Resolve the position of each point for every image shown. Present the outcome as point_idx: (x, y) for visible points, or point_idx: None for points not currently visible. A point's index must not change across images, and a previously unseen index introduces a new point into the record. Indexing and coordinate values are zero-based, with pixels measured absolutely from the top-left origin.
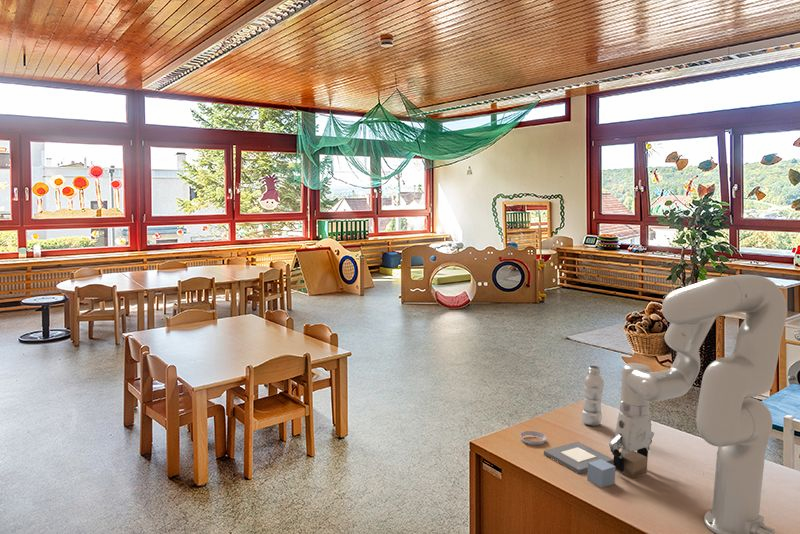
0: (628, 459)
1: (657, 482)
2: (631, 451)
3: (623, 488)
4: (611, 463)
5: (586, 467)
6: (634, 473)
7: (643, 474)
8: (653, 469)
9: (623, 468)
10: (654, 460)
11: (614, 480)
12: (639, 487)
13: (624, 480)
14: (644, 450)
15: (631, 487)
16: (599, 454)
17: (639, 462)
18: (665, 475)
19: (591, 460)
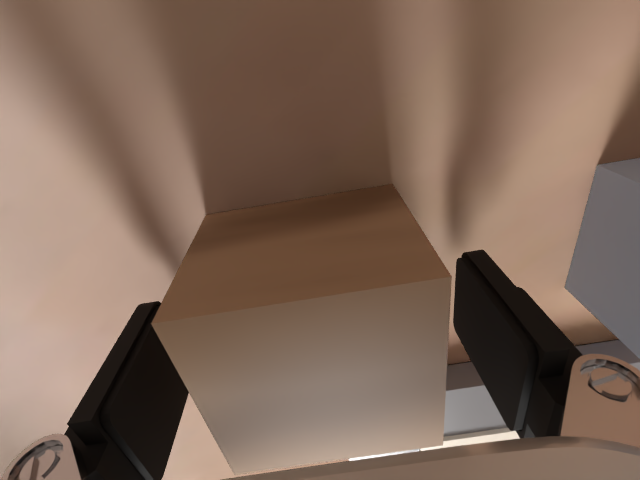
0: (444, 338)
1: (208, 36)
2: (537, 439)
3: (627, 57)
4: None
5: None
6: (373, 207)
7: (245, 209)
8: (95, 256)
9: (485, 265)
10: (10, 354)
11: (622, 173)
12: (475, 12)
13: (476, 180)
14: (109, 438)
15: (545, 45)
16: (372, 456)
17: (315, 275)
18: (30, 137)
19: (484, 420)
